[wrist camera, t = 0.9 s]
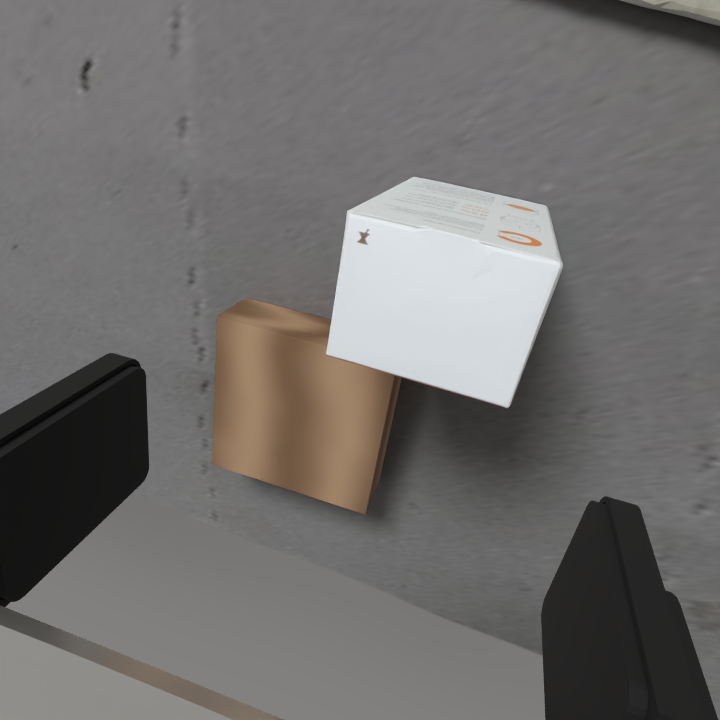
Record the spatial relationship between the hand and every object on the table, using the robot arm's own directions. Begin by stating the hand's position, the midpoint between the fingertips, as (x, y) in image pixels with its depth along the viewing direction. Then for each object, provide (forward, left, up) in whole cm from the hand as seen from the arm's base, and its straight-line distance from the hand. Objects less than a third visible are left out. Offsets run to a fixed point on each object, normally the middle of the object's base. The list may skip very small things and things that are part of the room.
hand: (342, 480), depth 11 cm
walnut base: (+8, +13, -24) cm, 28 cm away
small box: (0, 0, -24) cm, 24 cm away
